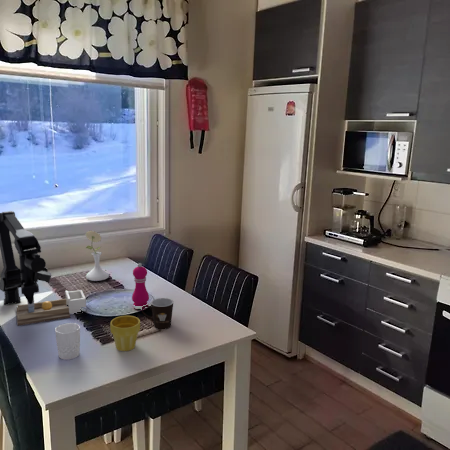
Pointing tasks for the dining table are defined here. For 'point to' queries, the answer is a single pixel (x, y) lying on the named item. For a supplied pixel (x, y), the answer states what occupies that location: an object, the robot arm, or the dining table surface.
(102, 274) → the flower in vase
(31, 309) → the striker
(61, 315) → the board
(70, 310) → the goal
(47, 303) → the ball
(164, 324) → the coffee mug
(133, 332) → the plant pot
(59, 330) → the white cup
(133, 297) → the pepper mill
